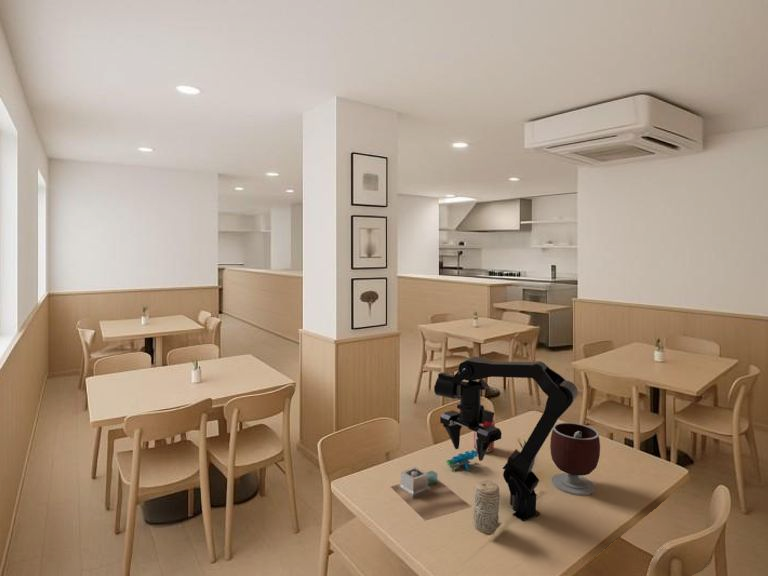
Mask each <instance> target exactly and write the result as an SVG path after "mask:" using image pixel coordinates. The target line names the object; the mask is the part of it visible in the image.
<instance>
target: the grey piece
mask: <svg viewBox="0 0 768 576" xmlns="http://www.w3.org/2000/svg"><path fill="white" fill-rule="evenodd" d="M413 471H416V472H418V476H417V477H415V478H413V477H412V476H411V472H413ZM425 472H426V471H423V470H421V469H420V468H418V467H417V466H413V467H411V468H408V469H406V470H403V471H400V483H399V484H400V485H398V484H397V485H398V489H400V490H401V491H403V492H404V493H406V494H407V495H409V496H410V497H412V498H414V497H417V496H419V495H422V494H424V493H427V492H429V491H430V487H429V486H432V485H434V484H437V479H438V473H437V472H435V471H434V470H430V471H427V472H426V473H425Z"/></svg>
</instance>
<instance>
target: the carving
mask: <svg viewBox="0 0 768 576" xmlns="http://www.w3.org/2000/svg"><path fill="white" fill-rule="evenodd" d="M474 489H475V490H474V492H475V494H474V499H473V501H474V502H473V510H472V511H473V512H472V525H473V527H474V528H475V529H476V530H477V531H479V532H480V533H484V534H488V536H491V535H493V534H494V533H495V532H496V531H497V529H498V525H499V524H498V523H499V521H500V520H499V517H500V516H499V512H500V510H499V509H500V499H501V494H500V488H499V486H498V484H497V483H496V482H495V481H493V480H489V479H482V480H479V481H476V483H475V487H474Z"/></svg>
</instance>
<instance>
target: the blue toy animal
mask: <svg viewBox="0 0 768 576" xmlns="http://www.w3.org/2000/svg"><path fill="white" fill-rule="evenodd" d="M477 457H478V451H477V450H475V449H472V450H470V451H469V450H466V451H464V453H461V452H460V453H458V454H457V456H452V457H451V459H447V460H445V463H446V465H447V466H449V468H450V469H451V470H452V471H453V472H454V473H455V472H456V469H455V468H456V467H460V466H464V467H465V470H466V471H467V472H470V468H469V465H468V462H469V461H471V460H474V459H475V458H477Z"/></svg>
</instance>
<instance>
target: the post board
mask: <svg viewBox="0 0 768 576" xmlns="http://www.w3.org/2000/svg"><path fill="white" fill-rule="evenodd" d="M411 476H412V477H413V478H415V477H417V476H418V472H416V471H413V472H411ZM400 484H401V483H398V484H395V485H394V484H393V485H391V486H390V488H391V489H392V490H393V491H394V492H395V493H396V494H397V495H398V496H399V497H400V498H401V499H402V500H403V501H404V502H405V503H406V504H407V505H408V506H410V508H411V509H413V511H414V512H416V514H418V515H419V517H421V519H423V520H424V521H427V520H432V519H436V518H438V517H441V516H445V515H448V514H452V513H455V512H459V511H461V510H464V509H468V508H471V507H472V506H471V505H470V504H469V503H468V502H467V501H465V500H464V499H463V498H462V497H460V496H459V495H458V494H457V493H455V492H454V491H453V490H452V489H450V488H449V487H448V486H447V485H445V484H444V483H443V482H441V481H440V480H439V479H438V478H437V484H434V485H432V486H429V487H430V491H429V492H427V493H424V494H422V495H419V496H417V497H414V498H412V497H410V496H409V495H407V494H406V493H404V492H403V491H401V490H400V489H398V485H400Z"/></svg>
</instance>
